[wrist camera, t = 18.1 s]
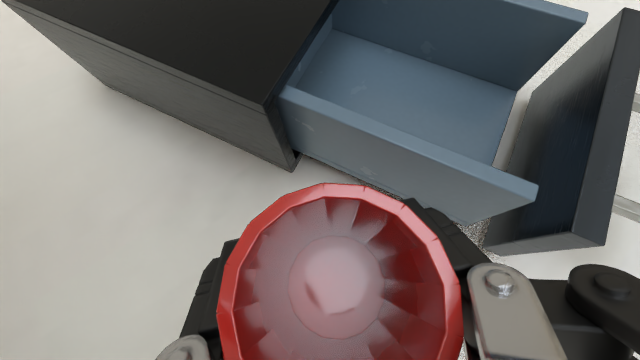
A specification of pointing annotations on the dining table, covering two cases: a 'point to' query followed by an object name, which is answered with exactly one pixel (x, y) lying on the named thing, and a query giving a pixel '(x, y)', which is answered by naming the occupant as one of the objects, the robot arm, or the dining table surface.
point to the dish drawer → (473, 113)
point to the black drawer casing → (193, 58)
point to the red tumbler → (339, 282)
